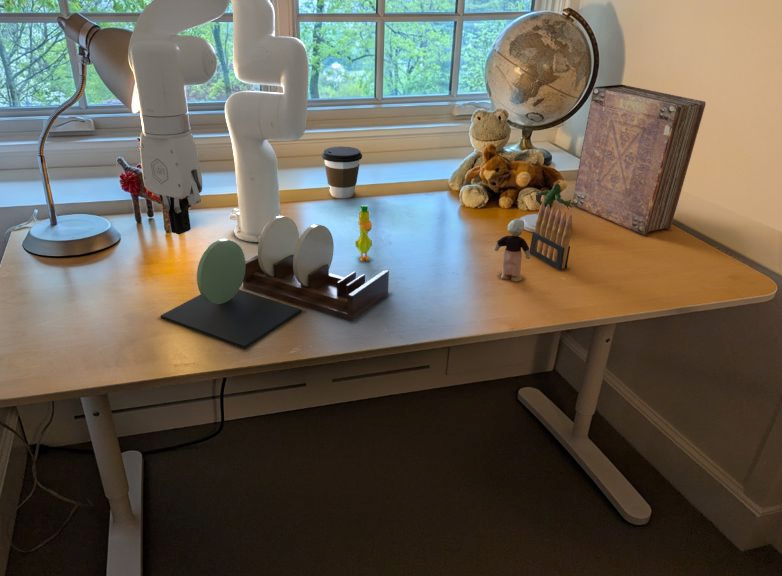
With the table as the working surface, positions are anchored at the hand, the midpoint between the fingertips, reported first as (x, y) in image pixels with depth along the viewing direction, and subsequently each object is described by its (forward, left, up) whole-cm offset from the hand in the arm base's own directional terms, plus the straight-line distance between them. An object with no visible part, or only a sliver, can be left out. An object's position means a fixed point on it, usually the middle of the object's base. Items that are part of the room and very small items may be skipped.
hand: (181, 231), depth 115 cm
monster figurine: (+43, +78, -14) cm, 90 cm away
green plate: (+6, +3, -8) cm, 10 cm away
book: (+57, +95, -14) cm, 112 cm away
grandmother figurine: (+47, +44, -14) cm, 66 cm away
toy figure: (+17, +35, -14) cm, 42 cm away
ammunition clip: (+51, +57, -14) cm, 78 cm away
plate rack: (+17, +17, -14) cm, 28 cm away
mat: (+10, 0, -14) cm, 17 cm away
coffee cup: (-12, +70, -14) cm, 73 cm away
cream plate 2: (+17, +17, -7) cm, 25 cm away
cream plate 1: (+8, +17, -7) cm, 20 cm away
